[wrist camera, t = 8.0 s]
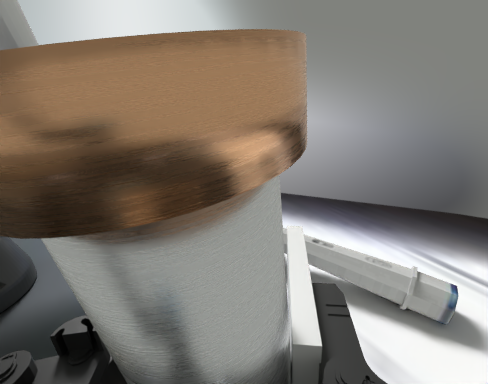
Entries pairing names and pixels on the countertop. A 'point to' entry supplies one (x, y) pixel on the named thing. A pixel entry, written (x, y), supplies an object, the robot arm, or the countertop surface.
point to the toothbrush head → (384, 279)
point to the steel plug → (162, 191)
